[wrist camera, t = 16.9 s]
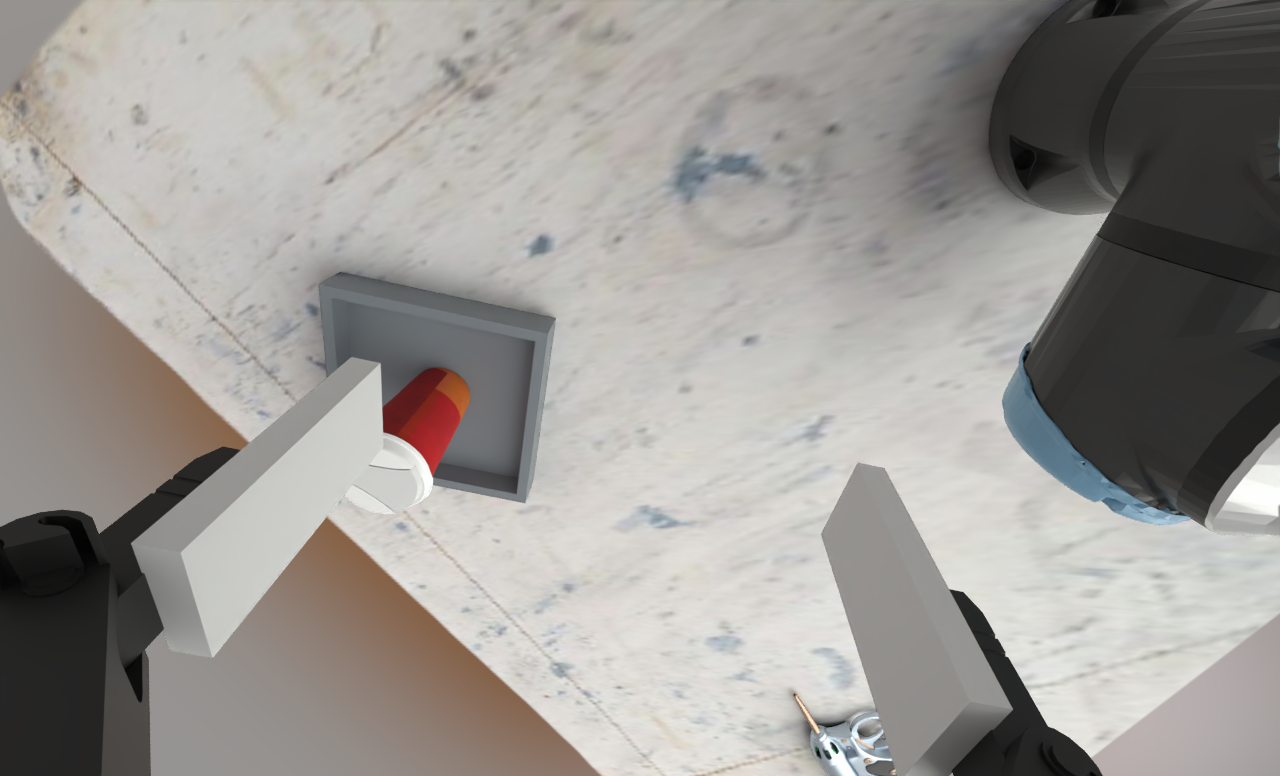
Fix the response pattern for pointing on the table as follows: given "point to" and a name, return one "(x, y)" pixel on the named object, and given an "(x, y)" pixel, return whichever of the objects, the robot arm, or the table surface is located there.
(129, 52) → the table surface
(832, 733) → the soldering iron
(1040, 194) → the robot arm
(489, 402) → the tray
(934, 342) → the table surface
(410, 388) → the paper cup
